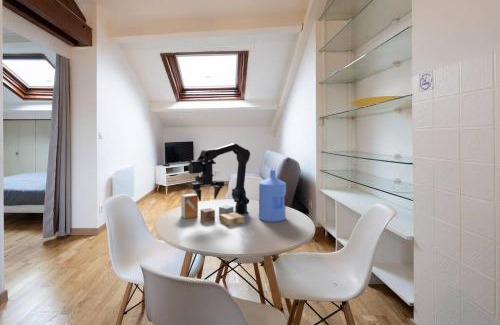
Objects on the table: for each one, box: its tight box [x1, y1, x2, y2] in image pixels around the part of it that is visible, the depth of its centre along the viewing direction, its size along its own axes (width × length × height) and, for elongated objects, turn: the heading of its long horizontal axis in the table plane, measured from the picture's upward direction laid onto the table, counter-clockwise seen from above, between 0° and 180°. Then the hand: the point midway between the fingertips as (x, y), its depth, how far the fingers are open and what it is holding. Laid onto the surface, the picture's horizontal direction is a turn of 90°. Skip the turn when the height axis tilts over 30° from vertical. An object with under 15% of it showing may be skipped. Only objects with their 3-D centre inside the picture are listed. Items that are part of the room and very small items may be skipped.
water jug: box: [258, 169, 287, 223], centre depth 147 cm, size 16×16×28 cm
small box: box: [180, 193, 199, 219], centre depth 150 cm, size 8×6×13 cm
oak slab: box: [219, 211, 245, 227], centre depth 141 cm, size 10×10×4 cm
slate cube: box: [218, 204, 234, 218], centre depth 151 cm, size 6×6×6 cm
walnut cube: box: [200, 207, 216, 223], centre depth 144 cm, size 6×6×6 cm
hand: (207, 199), depth 143 cm, fingers open, 9 cm apart
